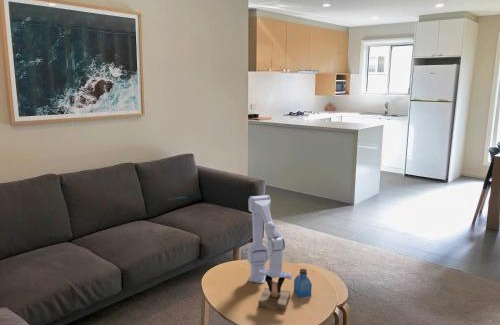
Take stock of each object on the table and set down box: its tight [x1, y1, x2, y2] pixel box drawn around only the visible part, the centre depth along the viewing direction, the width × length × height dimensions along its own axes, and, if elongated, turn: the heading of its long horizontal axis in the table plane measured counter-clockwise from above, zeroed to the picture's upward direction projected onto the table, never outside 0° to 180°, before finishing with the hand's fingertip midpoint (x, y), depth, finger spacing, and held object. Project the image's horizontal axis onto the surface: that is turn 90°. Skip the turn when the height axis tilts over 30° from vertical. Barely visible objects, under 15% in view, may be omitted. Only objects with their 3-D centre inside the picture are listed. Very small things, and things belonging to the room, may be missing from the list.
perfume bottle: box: [293, 268, 312, 299], centre depth 187 cm, size 6×6×12 cm
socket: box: [258, 287, 291, 312], centre depth 180 cm, size 12×12×3 cm
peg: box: [271, 279, 278, 298], centre depth 179 cm, size 3×3×7 cm
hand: (274, 291), depth 179 cm, fingers closed on peg, 3 cm apart
